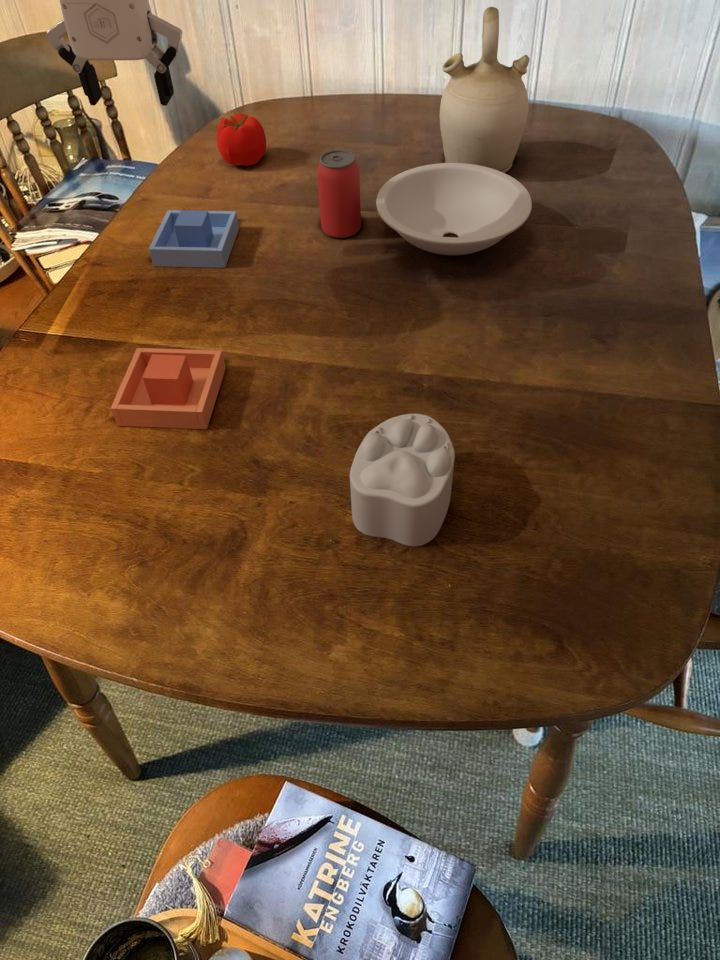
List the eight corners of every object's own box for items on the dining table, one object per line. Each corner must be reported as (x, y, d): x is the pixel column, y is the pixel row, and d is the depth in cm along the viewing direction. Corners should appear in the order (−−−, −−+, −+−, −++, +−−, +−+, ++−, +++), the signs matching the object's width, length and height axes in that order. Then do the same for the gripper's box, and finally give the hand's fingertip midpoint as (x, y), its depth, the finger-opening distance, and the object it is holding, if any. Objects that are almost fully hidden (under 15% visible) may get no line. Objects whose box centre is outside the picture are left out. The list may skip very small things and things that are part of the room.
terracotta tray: (117, 425, 91) (110, 408, 89) (142, 365, 98) (136, 347, 96) (207, 429, 90) (202, 412, 88) (225, 368, 97) (221, 350, 95)
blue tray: (153, 266, 114) (148, 249, 111) (171, 226, 121) (167, 209, 119) (225, 268, 113) (221, 250, 110) (239, 228, 120) (236, 210, 118)
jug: (425, 176, 129) (431, 19, 110) (451, 139, 138) (461, -13, 119) (508, 190, 125) (530, 30, 106) (529, 150, 134) (553, -4, 115)
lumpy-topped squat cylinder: (342, 528, 79) (338, 478, 73) (379, 446, 87) (378, 394, 81) (433, 552, 77) (437, 502, 70) (462, 465, 85) (468, 413, 78)
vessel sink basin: (538, 211, 121) (544, 173, 116) (509, 293, 106) (515, 253, 101) (401, 191, 126) (401, 154, 121) (356, 266, 112) (354, 228, 107)
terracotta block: (151, 404, 92) (142, 377, 89) (160, 380, 95) (151, 354, 92) (185, 405, 92) (177, 379, 89) (193, 381, 95) (186, 355, 92)
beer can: (350, 215, 122) (347, 144, 113) (368, 233, 118) (366, 161, 109) (315, 225, 120) (309, 154, 111) (331, 244, 116) (326, 172, 107)
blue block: (180, 250, 115) (173, 225, 112) (186, 235, 118) (180, 210, 115) (207, 251, 115) (201, 225, 111) (213, 236, 118) (208, 210, 114)
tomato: (242, 145, 139) (235, 105, 134) (277, 157, 136) (272, 116, 130) (209, 165, 135) (200, 124, 129) (244, 177, 131) (237, 136, 125)
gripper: (6, -43, 81) (59, 113, 94) (154, -45, 80) (188, 114, 93) (31, -62, 86) (78, 89, 99) (172, -64, 85) (201, 89, 98)
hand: (131, 101), depth 96 cm, fingers open, 9 cm apart
